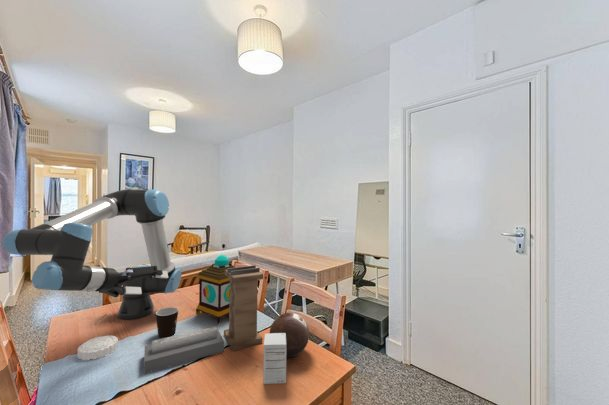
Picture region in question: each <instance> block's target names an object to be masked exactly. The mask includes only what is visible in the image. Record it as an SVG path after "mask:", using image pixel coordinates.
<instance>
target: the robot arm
mask: <svg viewBox="0 0 609 405" xmlns="http://www.w3.org/2000/svg"><path fill="white" fill-rule="evenodd" d="M169 207H170V201H169V198H168V196H167V194H166V193H165V192H163V191H162V190H158V189H150V188H149V189H130V188H128V189H121V190H116V191H113V192H110V193H107V194H105V195H103V196H100V197H98V198H96V199H95V200H94V202H92V203H90V204H87V205H84V206H82V207H80V208H78V209H75V210H73V211H71V212H68V213H66V214H64V215H62V216H61V215H60V216H58V217H56V218H54V219H51V220H49V221H46V222H43V223H41V224H39V225H37V226H34V227H32V228H29V229H26V228H21V229H14V230H11V231H9V232H7V233H6V234H5V236H4V238H3V239H2V248H3V250H4V251H5V252H6V253H8V254H11V255H21V256H51V259H50V260H49V261H44V262H41V263H40V264H39V265H38V266H37V267H36V269H35V271H33V274H32V277H31V282H32V286H33V287H34V288H35V289H38V290H46V291H47V290H48V291H69V292H70V291H74V292H75V291H77V292H78V291H79V292H81V291H82V292H87V293H89V292H98V293H99V294H104V295H105V294H106V295H108V296H111V297H113V298H118V297H119V296H122V299H121V300H122V301H121V303H120V306H119V309H118V311H117V317H118V318H119V319H120V320H135V319H139V318H143V317H147V316H148V315H151V314H153V312H154V308H155V306H154V303H153V300H152V297H151V294H172V293H174V292H176V291H177V290H178V288H179V286H180V283H181V280H182V270H181V269H179V268H176V265H175V263H174V262H173V261H171V258H170V253H169V247H168V242H167V237H166V232H165V226H164V225H165V224H164V219H165V218H166V216H167V214H168V213H169V211H170V210H169V209H170V208H169ZM118 216H135V221H136V222H137V223H138V224H140V225H141V230H142V233H143V239H144V242H145V247H146V252H147V256H148V259H149V264H145V265H144V264H143V265H138V266H137V265H136V266H135V267H134V266H133V267H125V270H124V271H123V272H122V271H121V272H118V271H117V270H116V269H114V268H110V267H102V266H95V265H94V266H93V265H85V264H84V263H85V260H86V258H87V254H88V251H89V248H90V244H91V242H92V237H93V233H94V232H93V231H94V228H93V227H92V226H93V225H95V224H98V223H101V221H103V220H104V221H105V220H106V219H107V220H108V219H113V218H115V217H118Z"/></svg>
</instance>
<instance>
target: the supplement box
mask: <svg viewBox="0 0 609 405" xmlns="http://www.w3.org/2000/svg"><path fill="white" fill-rule="evenodd" d="M262 367H263V380H262V382H263V384H264V385H271V384H272V385H273V384H286V383H287V357H286V333H270V332H269V333H264V338H263V366H262Z"/></svg>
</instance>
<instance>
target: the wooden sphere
mask: <svg viewBox="0 0 609 405" xmlns="http://www.w3.org/2000/svg"><path fill="white" fill-rule="evenodd" d="M269 333H286V358H292V357H296V356H298V355H299V354H301V353H302V352H303V351H304V350H305V348H306V347H307V346H308V342H309V340H310V330H309V326H308V323H307V322H306V320H305V319H304V318H303V317H302V316H301V315H300V314H297V313H295V312H284V313H282V314H280V315H278V316H277V317H276V318H275V319H274V320H273V322H272V323H271V325H270V329H269Z"/></svg>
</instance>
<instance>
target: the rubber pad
mask: <svg viewBox="0 0 609 405" xmlns="http://www.w3.org/2000/svg"><path fill="white" fill-rule="evenodd" d="M223 352H225V340H224V338H223V336H222V334H221V332H220V331H219V329H218V328H217V337H216V338H212V339H208V340H204V341H200V342H196V343H192V344H188V345H184V346H180V347H176V348H172V349H168V350H164V351H160V352H156V353H152V343H150V344H145V345H144V352H143V354H144V357H143V358H144V359H143V374H144V373H145V374H147V373H148V374H149V373H151V371H152V372H156V371H159V370H162V369H166V368H169V366H170V367H173V366H176V364H177V365H181V364H183V363H188V362H190V361H194V359H195V360H198V359H202V358H206V357H209V356H212V355H213V356H214V355H216V354H219V353H223ZM180 363H181V364H180ZM155 370H156V371H155Z"/></svg>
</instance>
